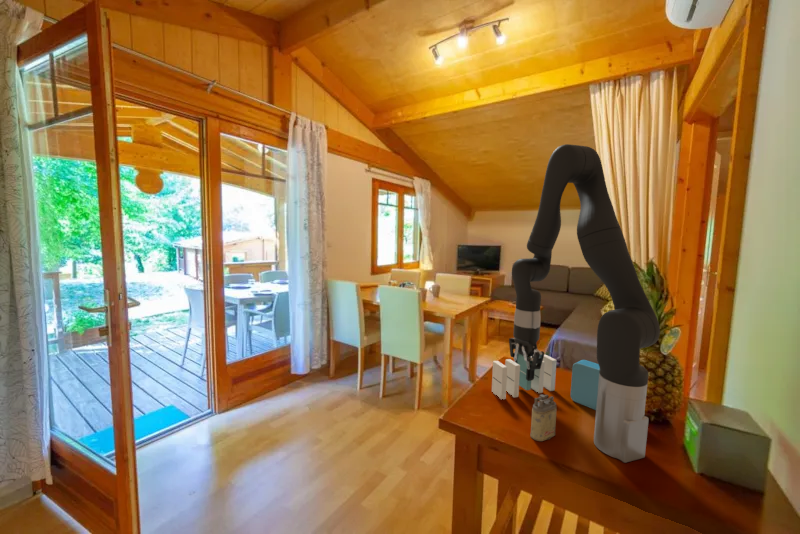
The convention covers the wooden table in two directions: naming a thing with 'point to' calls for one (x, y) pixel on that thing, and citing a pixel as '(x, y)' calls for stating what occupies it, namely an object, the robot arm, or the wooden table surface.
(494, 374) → the domino
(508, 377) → the domino
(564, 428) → the wooden table surface
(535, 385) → the domino
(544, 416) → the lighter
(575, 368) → the blue flat block
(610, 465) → the wooden table surface
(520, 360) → the domino
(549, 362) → the domino
